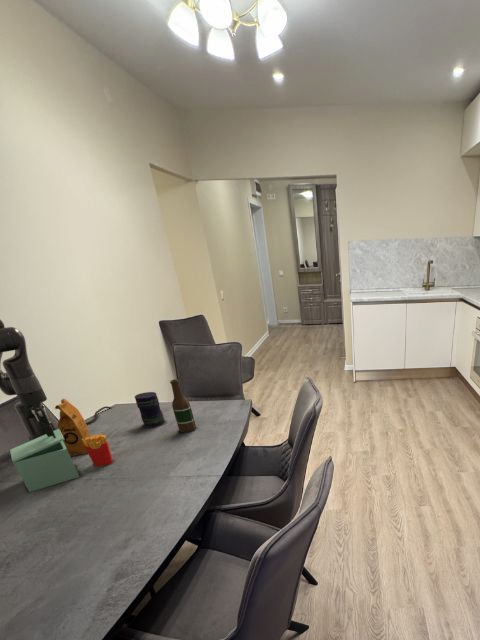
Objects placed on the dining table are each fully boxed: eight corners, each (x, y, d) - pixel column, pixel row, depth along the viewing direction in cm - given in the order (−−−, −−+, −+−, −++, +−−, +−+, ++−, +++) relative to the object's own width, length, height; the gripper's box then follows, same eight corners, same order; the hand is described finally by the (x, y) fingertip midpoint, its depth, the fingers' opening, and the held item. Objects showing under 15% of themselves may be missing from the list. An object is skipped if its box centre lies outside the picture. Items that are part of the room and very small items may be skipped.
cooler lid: (60, 430, 151) (50, 417, 148) (64, 439, 142) (54, 426, 139) (11, 451, 144) (0, 438, 140) (13, 462, 135) (1, 449, 132)
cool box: (74, 465, 158) (61, 439, 152) (79, 476, 150) (66, 448, 144) (26, 479, 150) (11, 451, 144) (29, 492, 141) (13, 462, 135)
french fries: (91, 467, 156) (80, 440, 151) (94, 463, 160) (82, 436, 154) (115, 463, 159) (104, 436, 153) (116, 459, 162) (106, 432, 156)
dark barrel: (169, 421, 199) (160, 393, 191) (153, 428, 191) (143, 399, 184) (155, 419, 203) (146, 391, 195) (139, 426, 195) (129, 397, 188)
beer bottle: (199, 427, 190) (186, 378, 178) (188, 433, 184) (174, 383, 172) (187, 425, 193) (173, 377, 181) (175, 431, 186) (160, 382, 174)
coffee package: (64, 457, 166) (41, 408, 155) (73, 446, 176) (52, 399, 165) (90, 453, 168) (69, 404, 157) (98, 442, 178) (78, 396, 167)
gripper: (13, 387, 138) (36, 431, 147) (16, 396, 129) (40, 442, 137) (39, 382, 142) (59, 425, 151) (43, 390, 133) (64, 436, 141)
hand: (50, 433), depth 144 cm, fingers closed on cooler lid, 5 cm apart
